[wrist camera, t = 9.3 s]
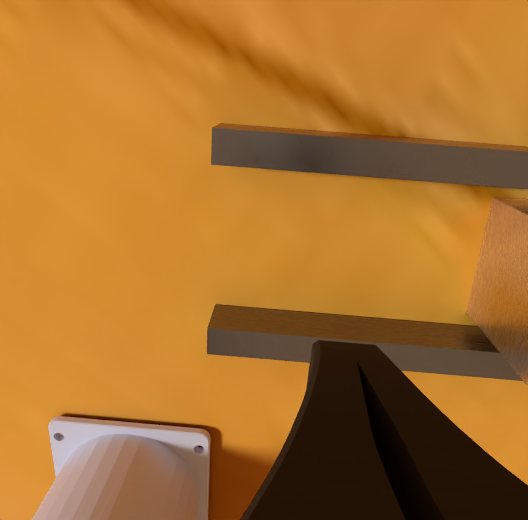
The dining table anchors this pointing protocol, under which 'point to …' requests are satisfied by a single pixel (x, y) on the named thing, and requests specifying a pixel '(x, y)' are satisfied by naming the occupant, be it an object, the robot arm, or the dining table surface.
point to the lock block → (504, 282)
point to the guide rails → (369, 165)
